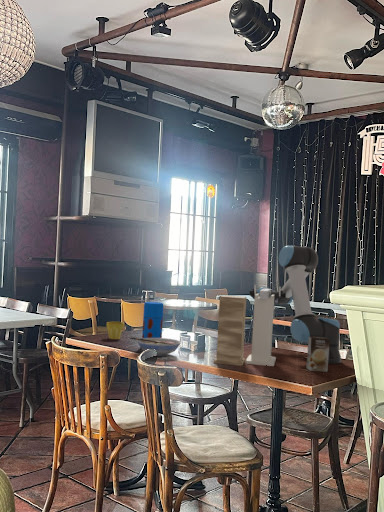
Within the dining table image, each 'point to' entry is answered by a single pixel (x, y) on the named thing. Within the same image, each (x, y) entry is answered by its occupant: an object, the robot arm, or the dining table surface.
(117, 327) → the plant pot
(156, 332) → the blue carton
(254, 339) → the post
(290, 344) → the dining table surface
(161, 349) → the ramen bowl
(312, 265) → the robot arm
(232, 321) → the oak stand
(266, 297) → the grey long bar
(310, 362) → the coffee box
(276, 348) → the dining table surface
